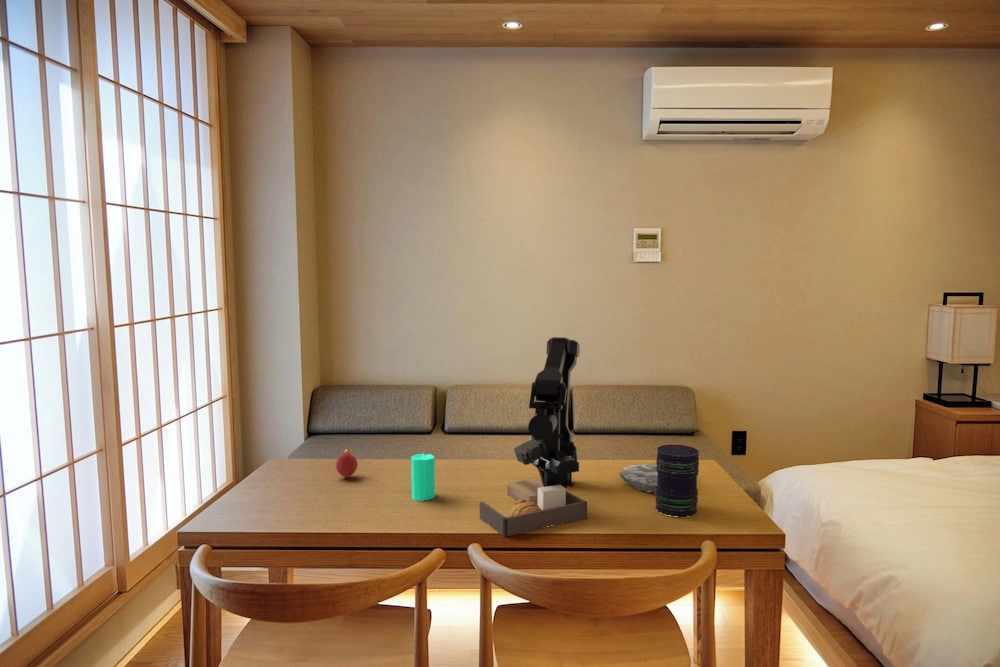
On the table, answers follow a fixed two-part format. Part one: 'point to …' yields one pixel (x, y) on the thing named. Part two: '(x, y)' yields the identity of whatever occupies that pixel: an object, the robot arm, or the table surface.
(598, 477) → the table surface
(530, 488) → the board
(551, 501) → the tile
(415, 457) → the candle
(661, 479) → the storage jar
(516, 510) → the pastry
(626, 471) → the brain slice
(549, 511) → the frame
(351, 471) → the onion
